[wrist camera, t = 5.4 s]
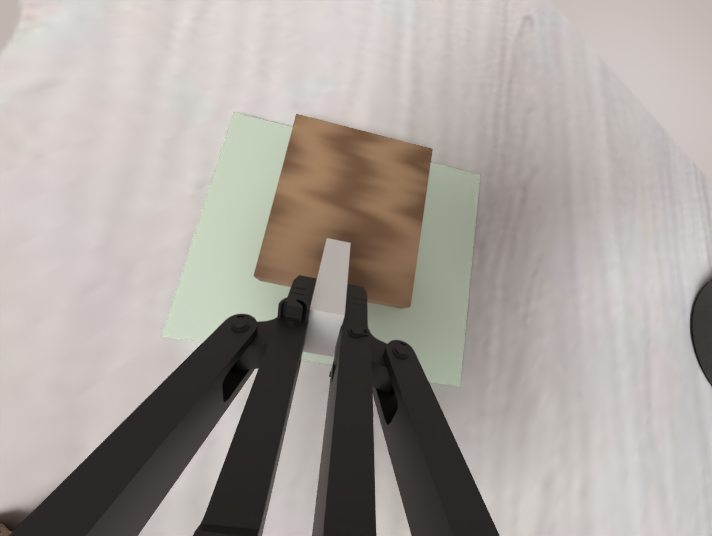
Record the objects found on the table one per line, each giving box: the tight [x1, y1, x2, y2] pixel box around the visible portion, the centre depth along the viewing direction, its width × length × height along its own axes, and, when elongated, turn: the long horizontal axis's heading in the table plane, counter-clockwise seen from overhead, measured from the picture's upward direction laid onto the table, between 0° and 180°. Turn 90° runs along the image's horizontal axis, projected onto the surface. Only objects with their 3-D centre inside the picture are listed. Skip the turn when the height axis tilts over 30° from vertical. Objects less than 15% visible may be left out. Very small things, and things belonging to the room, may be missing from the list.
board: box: [254, 114, 432, 309], centre depth 24 cm, size 12×2×14 cm
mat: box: [162, 112, 480, 387], centre depth 25 cm, size 24×20×1 cm
